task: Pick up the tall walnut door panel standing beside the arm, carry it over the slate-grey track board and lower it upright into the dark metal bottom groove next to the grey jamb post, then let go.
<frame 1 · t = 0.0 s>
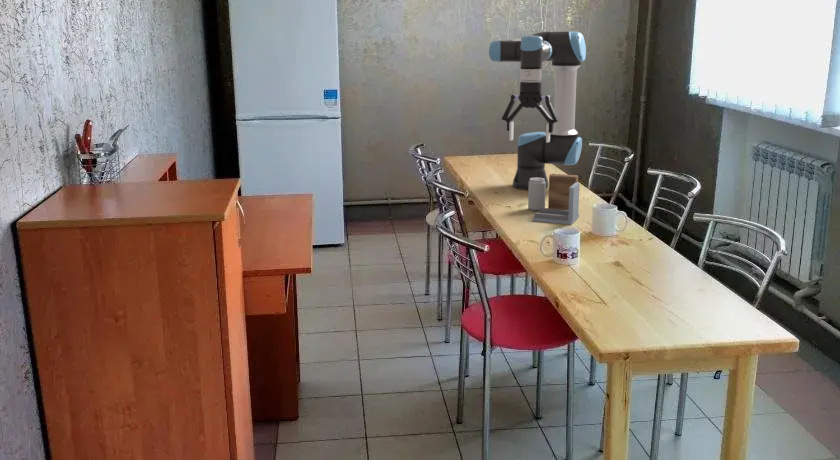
hand: (529, 141, 284), 28 cm above the table, fingers open, 13 cm apart
door panel: (562, 211, 297), on the table
beverage can: (536, 210, 301), on the table
door track: (556, 218, 287), on the table
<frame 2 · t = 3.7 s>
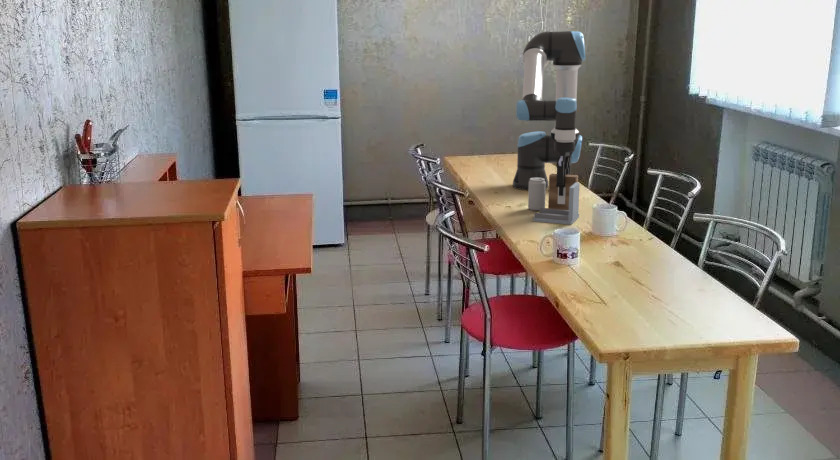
hand: (562, 202, 296), 4 cm above the table, fingers closed on door panel, 3 cm apart
door panel: (562, 211, 297), on the table, touching gripper
everything else where it was.
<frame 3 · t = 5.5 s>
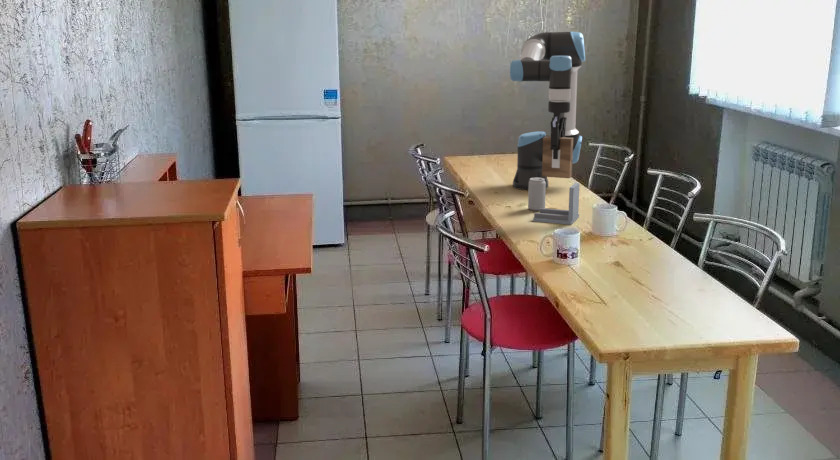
hand: (557, 166, 282), 19 cm above the table, fingers closed on door panel, 3 cm apart
door panel: (556, 176, 283), point 16 cm above the table, touching gripper
everything else where it was.
when the fingers open (6 cm above the table, at t = 7.4 s): door panel drops 1 cm, resting on door track.
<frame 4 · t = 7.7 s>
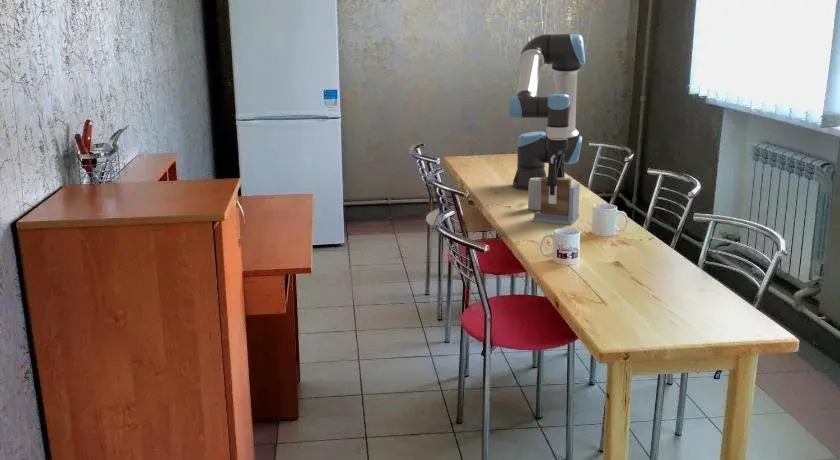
hand: (555, 200, 285), 7 cm above the table, fingers open, 8 cm apart
door panel: (555, 216, 287), point 1 cm above the table, touching door track
everything else where it was.
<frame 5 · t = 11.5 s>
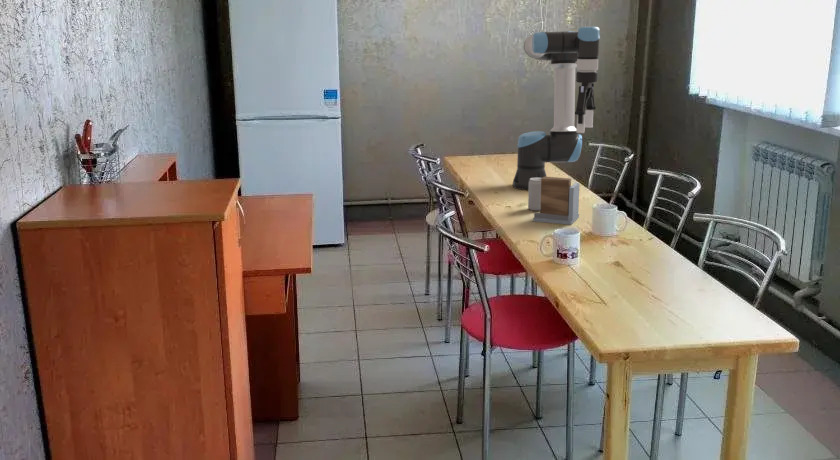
hand: (584, 130, 289), 31 cm above the table, fingers open, 13 cm apart
nothing on the table moved.
at the end: door panel 0.1 cm off-centre on the door track, point 1.0 cm above the door track's base; door panel tilted 0°; the gripper is holding nothing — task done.
